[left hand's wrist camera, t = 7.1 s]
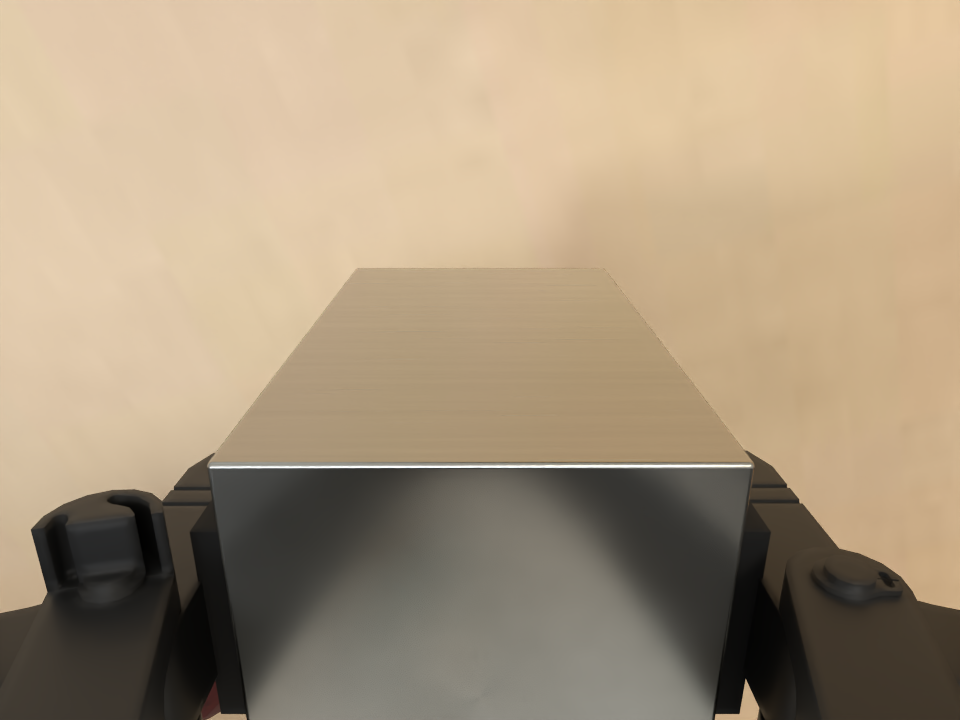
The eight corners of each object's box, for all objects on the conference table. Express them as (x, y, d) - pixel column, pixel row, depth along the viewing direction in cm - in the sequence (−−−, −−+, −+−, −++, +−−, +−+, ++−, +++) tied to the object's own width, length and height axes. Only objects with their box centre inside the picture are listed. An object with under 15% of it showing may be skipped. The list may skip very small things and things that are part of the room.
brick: (371, 505, 16) (269, 875, 8) (355, 267, 14) (203, 463, 6) (589, 504, 16) (691, 875, 8) (605, 267, 14) (756, 462, 6)
